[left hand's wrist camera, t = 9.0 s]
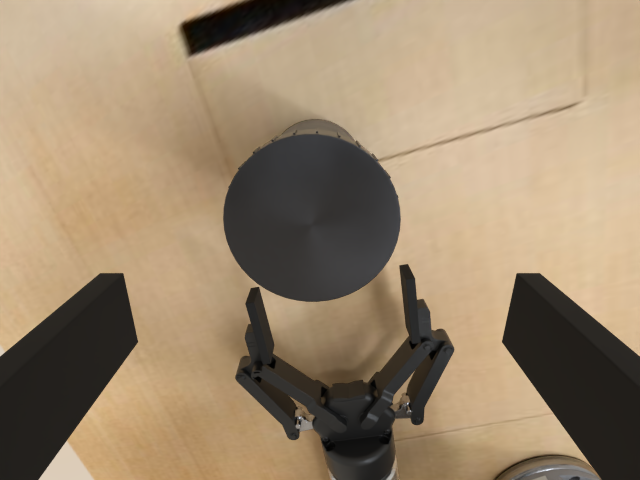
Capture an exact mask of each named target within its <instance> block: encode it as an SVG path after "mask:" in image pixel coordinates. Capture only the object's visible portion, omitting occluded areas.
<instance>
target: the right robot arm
mask: <svg viewBox="0 0 640 480" xmlns="http://www.w3.org/2000/svg"><path fill="white" fill-rule="evenodd" d="M399 266H400V275H401V285H402V294H403V304H404V313H405V323H406V328H407V331H408V334H409V337H408V338H407V339H406V340H405V342H404V343H403V344H402V345H401V347H400V348H399V349H398V350H397V352H396V353H395V354H394V355H393V356H392V358H391V359H390V360H389V361H388V363H387V364H386V365H385V366H384V368H383V369H382V370H381V371H380V372H376V373H375V374H374V376H373V377H372V378H371V379H370V381H369V382H368V383H365V382H363V380H359V381H354V382H351V383H348V384H346V383H336V384H333V386H332V387H330V388H329V387H328V386H326V385H325V384H323V383H322V382H320V381H319V380H316V381H314V380H312V379H311V378H309V377H307V376H306V375H304V374H303V373H301V372H300V371H298V370H297V369H295V368H294V367H292V366H291V365H289V364H288V363H286V362H285V361H283V360H282V359H280V358H279V357H277V356H276V355H274V354H273V349H274V342H273V338H272V334H271V330H270V327H269V323H268V319H267V315H266V312H265V308H264V304H263V300H262V296H261V293H260V289H259V287H255V288H251V290H250V292H249V295H248V298H247V301H246V307H247V311H248V314H249V318H250V321H251V324H248V327H247V331H246V334H245V340H246V343H247V347H248V350H249V354H250V356H243V357H242V358H241V360H240V363H239V366H238V370H237V373H236V377H235V378H236V380H237V382H238V383H239V384H241V385H242V386H243V387H244V388H245V389H246V390H247V391H248V392H249V393H250V394H251V395H252V396H253V397H254V398H255V399H256V400H257V401H258V402H259V403H260V404H261V405H262V406H263V407H264V408H265V409H266V410H267V411H268V412H269V413H270V414H271V415H273V416H274V417H275V418H276V419H277V420H278V421H279V422H280V423H281V424H282V425H283V428H284V430H285V432H286V434H287V437H288V438H289V439H291V440H296V439H298V438H299V433H300V431H305V430H310V429H314V430H315V431H316V432H317V433H318V434H319V436H320V438H321V443H322V447H323V451H324V455H325V460H326V464H327V468H328V472H329V476H330V480H399V473H398V466H397V459H396V454H395V445H394V437H393V430H392V425H393V422H394V421H395V419H399V418H411V422H412V423H413V424H414V425H420V424H422V423H423V420H424V407H425V405H426V403H427V401H428V399H429V398H430V396H431V394H432V392H433V390H434V388H435V386H436V384H437V382H438V380H439V379H440V377H441V375H442V373H443V371H444V369H445V367H446V365H447V363H448V362H449V360H450V358H451V356H452V354H453V352H454V347H453V345H452V343H451V341H450V339H449V337H448V335H447V333H446V331H445V330H443V329H437V330H436V331H434V330H431V319H430V311H429V309H428V307H427V305H426V303H425V301H424V299H420V300H417V297H416V285H415V278H414V276H413V274H412V272H411V269H410V267H409V265H408V264H406V265H399ZM414 371H415V372H414ZM413 372H414V374H413V376H412V378H411V380H410V382H409V384H408V387H407V393H403V394H402V397H401V399H400V401H399V402H398V403H397V404H393V403H392V400H393V396H394V394H395V393H396V392H397V391H398V389H399V388H400V387H401V386H402V385H403V384H404V382H405V381H406V380H407V379H408V378H409V377H410V375H411V374H412V373H413ZM288 395H289V396H290V397H292V398H294V399H295V400H297V401H298V402H300V403H301V404H303V405H305V406H306V407H307V409H308V411H309V413H311V414H312V415H308V414H306V413H305V412H304V411H303V410H302V407H300V406H298V407H297V406H296V404H295V403H294V401H293V400H292V399H291V398H290V397H289V396H288ZM496 480H601V478H600V477H599V476H598V474H597V473H596V471H595V470H594V469H593V468H592V467H591V466H590V465H588V464H587V463H585V462H583V461H581V460H578V459H575V458H571V457H566V456H544V457H538V458H534V459H530V460H527V461H524V462H521V463H519V464H517V465H515V466H513V467H511V468H509V469H508V470H506V471H505V472H504V473H502V474H501V475H500V476H499V477H498V478H497V479H496Z"/></svg>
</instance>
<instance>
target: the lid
mask: <svg viewBox="0 0 640 480" xmlns="http://www.w3.org/2000/svg"><path fill="white" fill-rule="evenodd" d="M238 169H239V171H238V172H237V173H236V175H235V176H234V178H233V180H232V182H231V184H230V186H229V189H228V192H227V195H226V199H225V204H224V215H223V221H224V231H225V235H226V239H227V242H228V245H229V247H230V250H231V252H232V254H233V256H234V258H235V259H236V261H237V262H238V264H239V265H240V267H241V268H242V269H243V270H244V271H245V273H246V274H247V275H248V276H249V277H250V278H251V279H253V280H254V281H255V282H256V283H257V284H259V285H260V286H262V287H263V288H265V289H267V290H269V291H271V292H273V293H275V294H277V295H279V296H282V297H285V298H289V299H293V300H298V301H306V302H319V301H328V300H332V299H337V298H340V297H343V296H346V295H349V294H351V293H353V292H355V291H357V290H359V289H360V288H362V287H363V286H365V285H366V284H368V283H369V282H370V281H371V280H372V279H374V278H375V277H376V276H377V275H378V273H379V272H380V271H381V270H382V269H383V268H384V266H385V265H386V263H387V262H388V261H389V259H390V257H391V255H392V253H393V251H394V249H395V246H396V243H397V240H398V236H399V231H400V221H401V219H400V206H399V201H398V195H397V194H396V191H395V188H394V186H393V184H392V182H391V180H390V178H391V177H390V176H389V174H388V173H387V172H386V171H385V170H384V169H383V168H382V166H381V165H380V164H379V162H378V159H377V158H376V157H375V155H374V154H371V153H370V152H369V151H368V150H366V149H365V148H364V147H363V146H361V145H360V143H359V142H358V141H356V142H355V141H354V140H352V139H350V138H348V137H346V136H344V135H341V134H340V133H339V132H337V133H335V132H331V131H326V130H319V129H318V128H316V129H306V130H298V131H297V129H295V131H293V132H290V133H286V134H283V135H281V136H279V137H277V136H275V137H274V138H273V139H272V140H271V141H269V142H268V143H266V144H264V145H263V146H262V147H261V148H260V147H258V148H257V149H256V150H255V151H254V152H253V155H252V156H251V157H250V158H249V159H248V160H247V161H245V162H244V163H243V164H242V165H241V166H240V167H239V168H238Z"/></svg>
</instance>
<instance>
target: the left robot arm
mask: <svg viewBox="0 0 640 480" xmlns="http://www.w3.org/2000/svg"><path fill="white" fill-rule="evenodd" d="M137 343H138V340H137V335H136V330H135V326H134V321H133V317H132V312H131V307H130V303H129V298H128V293H127V289H126V284H125V279H124V275H123V273H100V274H99V275H98V276H96V277H95V278H94V279H93V280H92V281H90V282H89V283H88V284H87V285H86V286H84V287H83V288H82V289H81V290H80V291H78V292H77V293H76V294H75V295H74V296H72V297H71V298H70V299H69V300H68V301H66V302H65V303H64V304H63V305H62V306H60V307H59V308H58V309H57V310H56V311H54V312H53V313H52V314H51V315H50V316H48V317H47V318H46V319H45V320H44V321H42V322H41V323H40V324H39V325H38V326H36V327H35V328H34V329H33V330H32V331H30V332H29V333H28V334H27V335H26V336H24V337H23V338H22V339H21V340H20V341H18V342H17V343H16V344H15V345H14V346H12V347H11V348H10V349H9V350H8V351H6V352H5V353H4V354H3V355H2V356H0V480H38V479H39V478H40V477H41V475H42V474H43V473H44V471H45V470H46V468H47V467H48V466H49V464H50V463H51V461H52V460H53V459H54V457H55V456H56V454H57V453H58V452H59V450H60V449H61V448H62V446H63V445H64V444H65V442H66V441H67V439H68V438H69V437H70V435H71V434H72V432H73V431H74V430H75V428H76V427H77V426H78V424H79V423H80V421H81V420H82V419H83V417H84V416H85V414H86V413H87V412H88V410H89V409H90V408H91V406H92V405H93V403H94V402H95V401H96V399H97V398H98V397H99V395H100V394H101V392H102V391H103V390H104V388H105V387H106V385H107V384H108V383H109V381H110V380H111V379H112V377H113V376H114V374H115V373H116V372H117V370H118V369H119V368H120V366H121V365H122V363H123V362H124V361H125V359H126V358H127V356H128V355H129V354H130V352H131V351H132V350H133V348H134V347H135V345H136V344H137ZM502 343H503V344H504V345H505V347H506V348H507V350H508V351H509V352H510V354H511V355H512V356H513V358H514V359H515V361H516V362H517V363H518V365H519V366H520V368H521V369H522V370H523V372H524V373H525V374H526V376H527V377H528V379H529V380H530V381H531V383H532V384H533V385H534V387H535V388H536V390H537V391H538V392H539V394H540V395H541V397H542V398H543V399H544V401H545V402H546V403H547V405H548V406H549V408H550V409H551V410H552V412H553V413H554V415H555V416H556V417H557V419H558V420H559V421H560V423H561V424H562V426H563V427H564V428H565V430H566V431H567V432H568V434H569V435H570V437H571V438H572V439H573V441H574V442H575V444H576V445H577V446H578V448H579V449H580V450H581V452H582V453H583V455H584V456H585V457H586V459H587V460H588V461H589V463H590V464H591V466H592V467H593V468H594V470H595V471H596V473H597V474H598V475H599V477H600V478H601V479H602V480H640V356H638V355H637V354H636V353H635V352H634V351H632V350H631V349H630V348H629V347H628V346H626V345H625V344H624V343H623V342H622V341H620V340H619V339H618V338H617V337H616V336H614V335H613V334H612V333H611V332H610V331H608V330H607V329H606V328H605V327H604V326H602V325H601V324H600V323H599V322H598V321H596V320H595V319H594V318H593V317H592V316H590V315H589V314H588V313H587V312H586V311H584V310H583V309H582V308H581V307H580V306H578V305H577V304H576V303H575V302H574V301H572V300H571V299H570V298H569V297H568V296H566V295H565V294H564V293H563V292H562V291H560V290H559V289H558V288H557V287H556V286H554V285H553V284H552V283H551V282H550V281H548V280H547V279H546V278H545V277H544V276H542V275H541V274H540V273H517V275H516V279H515V284H514V289H513V293H512V298H511V303H510V307H509V312H508V316H507V321H506V326H505V330H504V335H503V340H502Z"/></svg>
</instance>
